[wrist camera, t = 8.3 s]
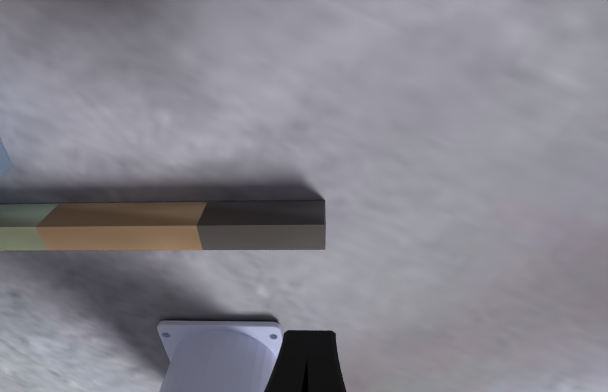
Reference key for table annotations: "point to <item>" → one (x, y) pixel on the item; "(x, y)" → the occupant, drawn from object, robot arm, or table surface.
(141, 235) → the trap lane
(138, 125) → the table surface
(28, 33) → the table surface
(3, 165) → the slate block
